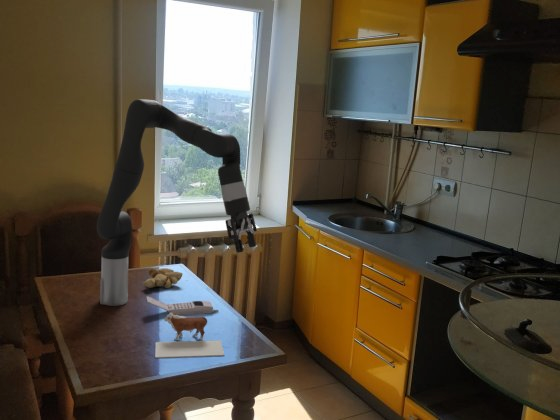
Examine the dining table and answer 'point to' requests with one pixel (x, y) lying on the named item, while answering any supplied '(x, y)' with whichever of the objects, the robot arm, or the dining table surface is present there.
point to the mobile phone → (184, 307)
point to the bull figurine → (186, 324)
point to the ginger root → (162, 278)
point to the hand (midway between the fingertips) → (246, 249)
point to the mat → (188, 349)
